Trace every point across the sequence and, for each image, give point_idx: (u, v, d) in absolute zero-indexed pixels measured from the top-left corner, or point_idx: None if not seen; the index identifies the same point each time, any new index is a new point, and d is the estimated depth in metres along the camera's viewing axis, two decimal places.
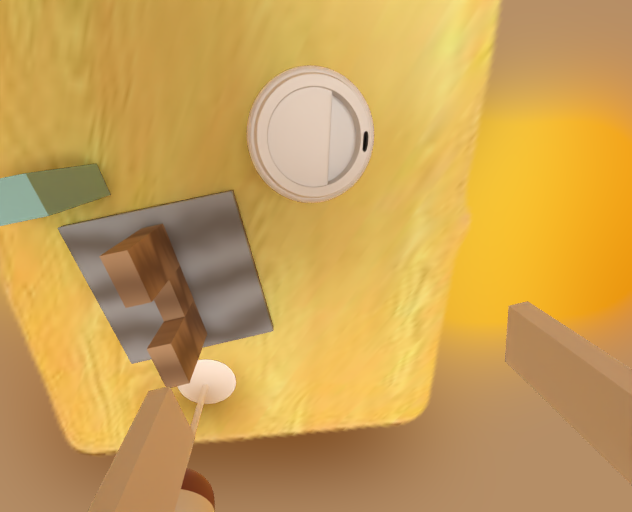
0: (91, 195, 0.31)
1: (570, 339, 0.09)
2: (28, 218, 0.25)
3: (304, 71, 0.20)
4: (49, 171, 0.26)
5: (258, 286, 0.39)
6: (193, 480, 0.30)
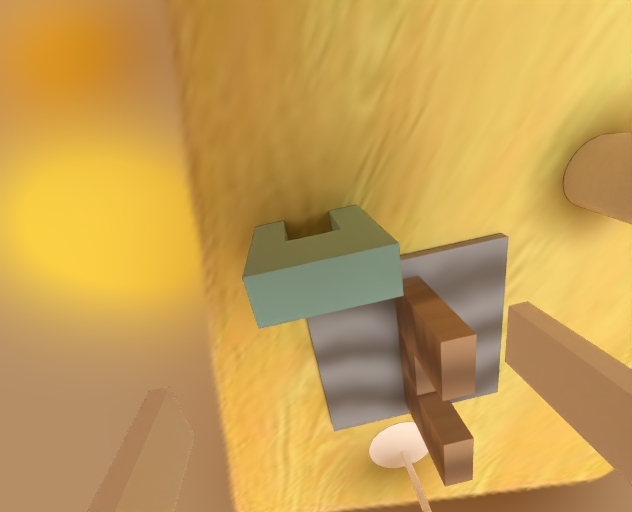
0: None
1: (570, 339, 0.09)
2: (377, 299, 0.18)
3: None
4: (384, 231, 0.19)
5: (499, 344, 0.33)
6: None
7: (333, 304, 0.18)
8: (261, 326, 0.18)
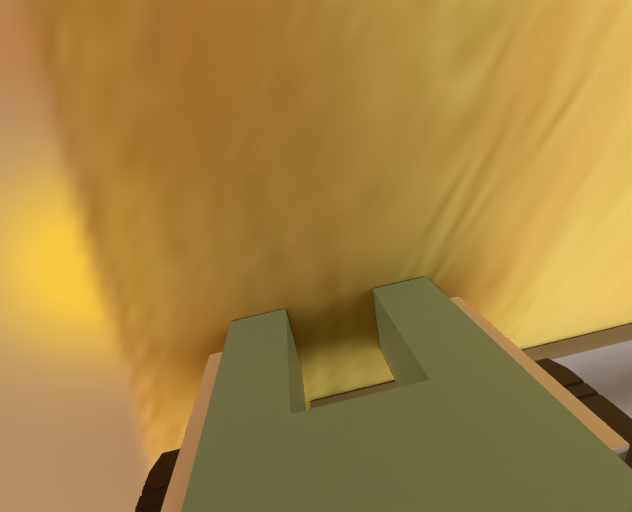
0: None
1: (484, 329, 0.10)
2: None
3: None
4: (575, 420, 0.07)
5: None
6: None
7: None
8: None
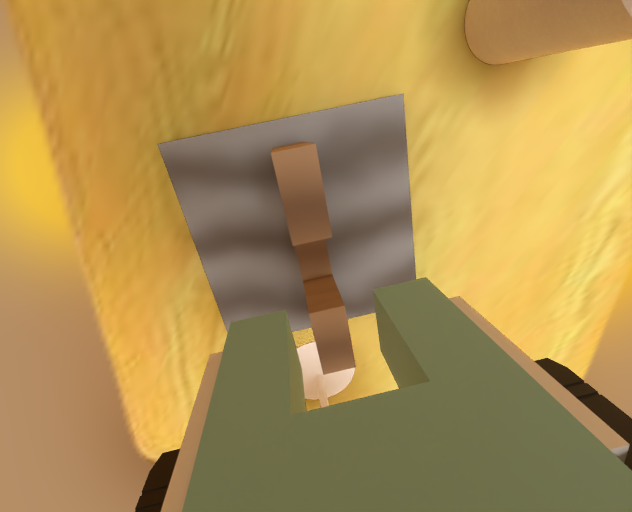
0: None
1: (484, 329, 0.10)
2: None
3: None
4: (576, 422, 0.07)
5: (411, 239, 0.29)
6: None
7: None
8: None
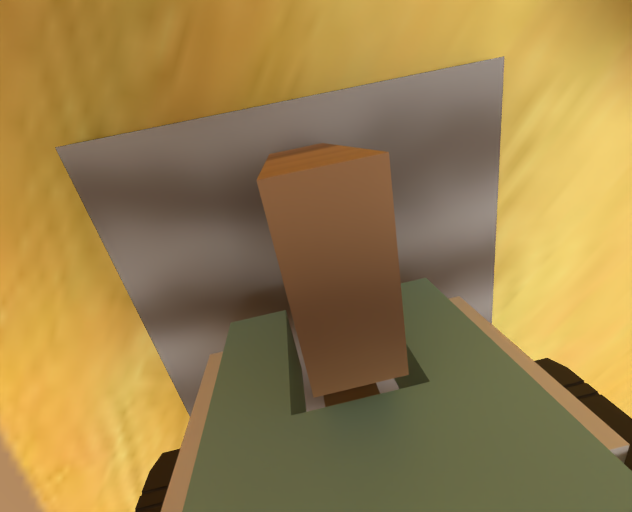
0: None
1: (484, 329, 0.10)
2: None
3: None
4: (576, 422, 0.07)
5: (489, 297, 0.18)
6: None
7: None
8: None
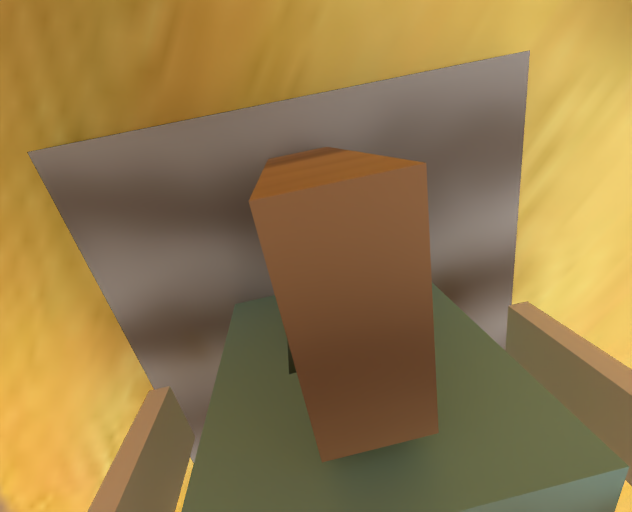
0: None
1: (569, 339, 0.09)
2: None
3: None
4: None
5: (507, 313, 0.17)
6: None
7: None
8: None
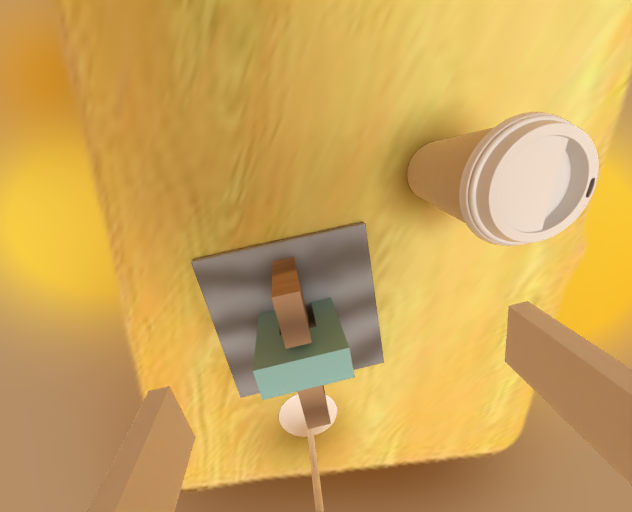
0: None
1: (570, 339, 0.09)
2: (338, 380, 0.29)
3: (540, 119, 0.20)
4: (343, 332, 0.30)
5: (376, 317, 0.39)
6: None
7: (310, 383, 0.28)
8: (264, 398, 0.28)
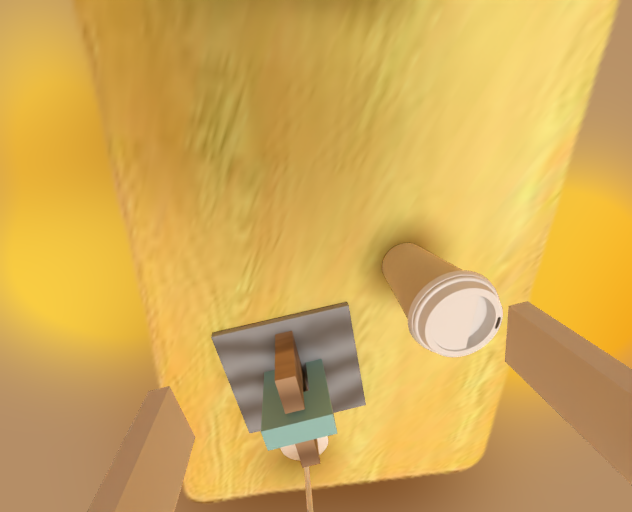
0: None
1: (570, 339, 0.09)
2: (324, 435, 0.38)
3: (460, 281, 0.28)
4: (329, 397, 0.39)
5: (358, 372, 0.48)
6: None
7: (303, 438, 0.38)
8: (269, 449, 0.38)
